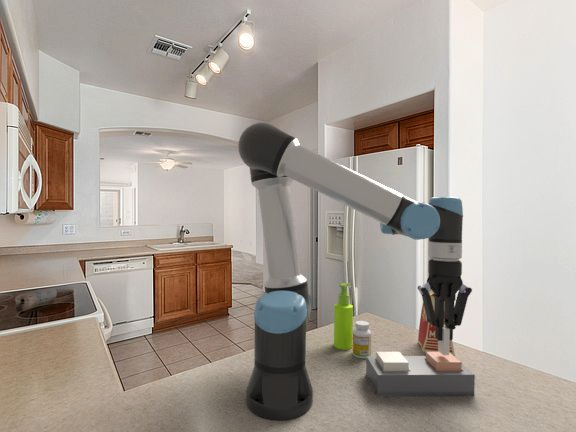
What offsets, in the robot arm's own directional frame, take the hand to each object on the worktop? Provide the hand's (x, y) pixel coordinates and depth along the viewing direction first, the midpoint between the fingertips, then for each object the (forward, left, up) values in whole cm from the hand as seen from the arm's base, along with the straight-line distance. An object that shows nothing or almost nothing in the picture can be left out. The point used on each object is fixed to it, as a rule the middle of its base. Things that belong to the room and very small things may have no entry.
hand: (443, 352), depth 81 cm
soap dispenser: (-20, +24, -8) cm, 32 cm away
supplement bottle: (-16, +17, -8) cm, 25 cm away
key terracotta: (0, 0, -5) cm, 5 cm away
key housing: (-7, 0, -8) cm, 10 cm away
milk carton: (+9, +22, -8) cm, 25 cm away
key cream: (-13, 0, -5) cm, 14 cm away
